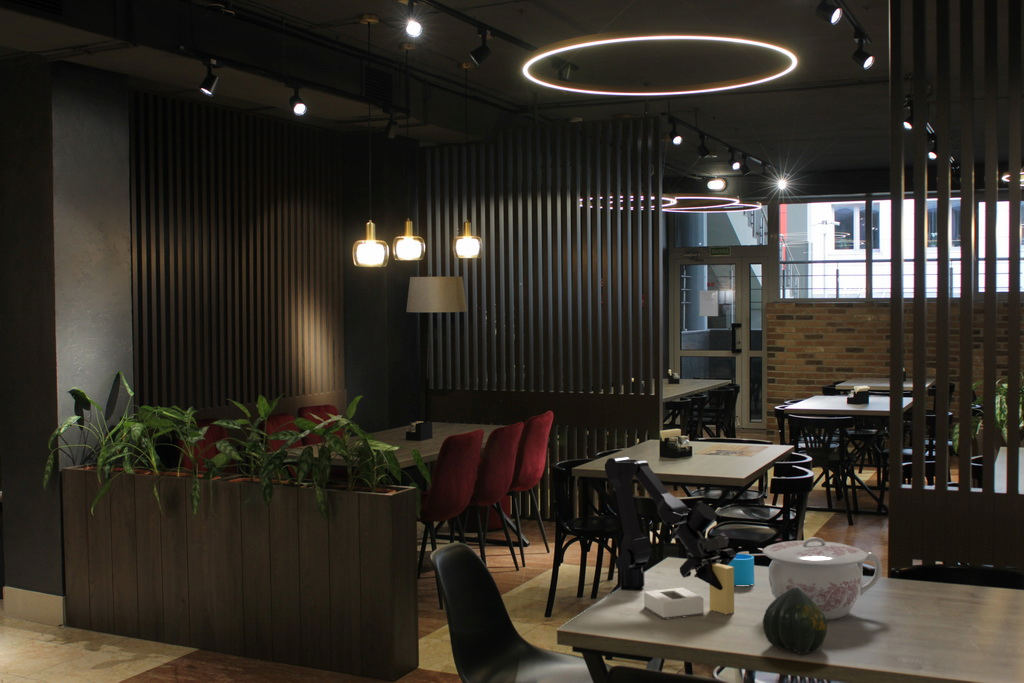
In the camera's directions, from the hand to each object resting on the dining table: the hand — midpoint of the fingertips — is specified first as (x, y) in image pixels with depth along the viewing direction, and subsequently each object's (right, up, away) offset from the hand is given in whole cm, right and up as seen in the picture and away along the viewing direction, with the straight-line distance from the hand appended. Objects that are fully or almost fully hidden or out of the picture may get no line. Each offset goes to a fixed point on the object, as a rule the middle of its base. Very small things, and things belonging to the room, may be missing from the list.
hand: (725, 588), depth 275 cm
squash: (+10, -7, -31) cm, 33 cm away
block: (-1, -7, +1) cm, 7 cm away
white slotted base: (-14, -7, +2) cm, 16 cm away
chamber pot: (+24, -6, -3) cm, 25 cm away
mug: (+9, -6, +31) cm, 33 cm away
